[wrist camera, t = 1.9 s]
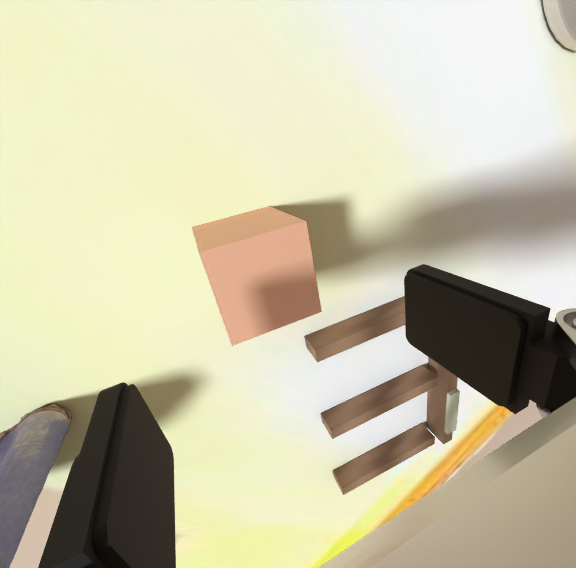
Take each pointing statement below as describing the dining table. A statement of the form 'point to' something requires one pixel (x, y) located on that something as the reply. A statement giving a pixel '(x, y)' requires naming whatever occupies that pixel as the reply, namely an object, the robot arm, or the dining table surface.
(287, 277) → the block
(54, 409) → the dark blue pouch
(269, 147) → the dining table surface
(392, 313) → the comb rack
